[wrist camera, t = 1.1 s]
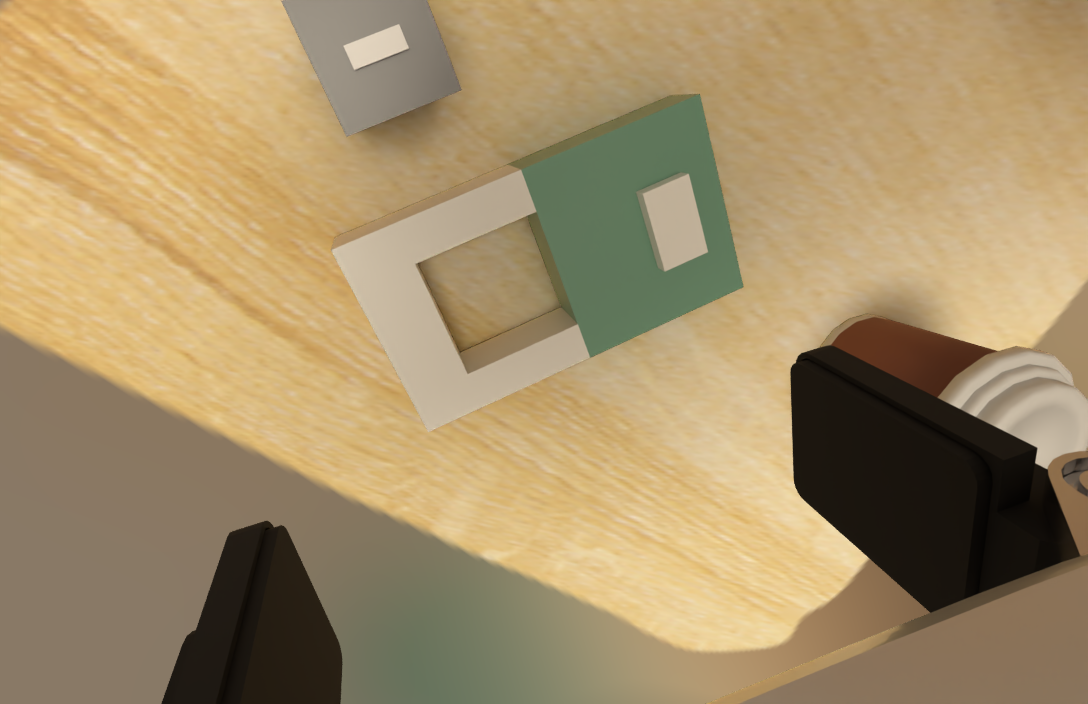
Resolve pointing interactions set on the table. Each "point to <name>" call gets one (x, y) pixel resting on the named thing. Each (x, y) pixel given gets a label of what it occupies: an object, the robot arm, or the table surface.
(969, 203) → the table surface
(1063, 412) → the coffee cup
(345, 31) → the grey square peg
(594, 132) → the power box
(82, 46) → the table surface
